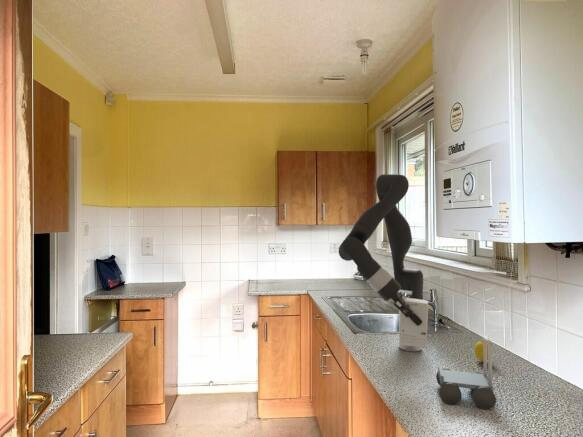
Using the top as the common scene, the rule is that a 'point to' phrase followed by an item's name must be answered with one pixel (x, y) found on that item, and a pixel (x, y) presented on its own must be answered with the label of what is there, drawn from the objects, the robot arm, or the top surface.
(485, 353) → the trolley
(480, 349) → the lemon
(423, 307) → the skincare box
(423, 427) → the top surface
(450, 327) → the top surface
